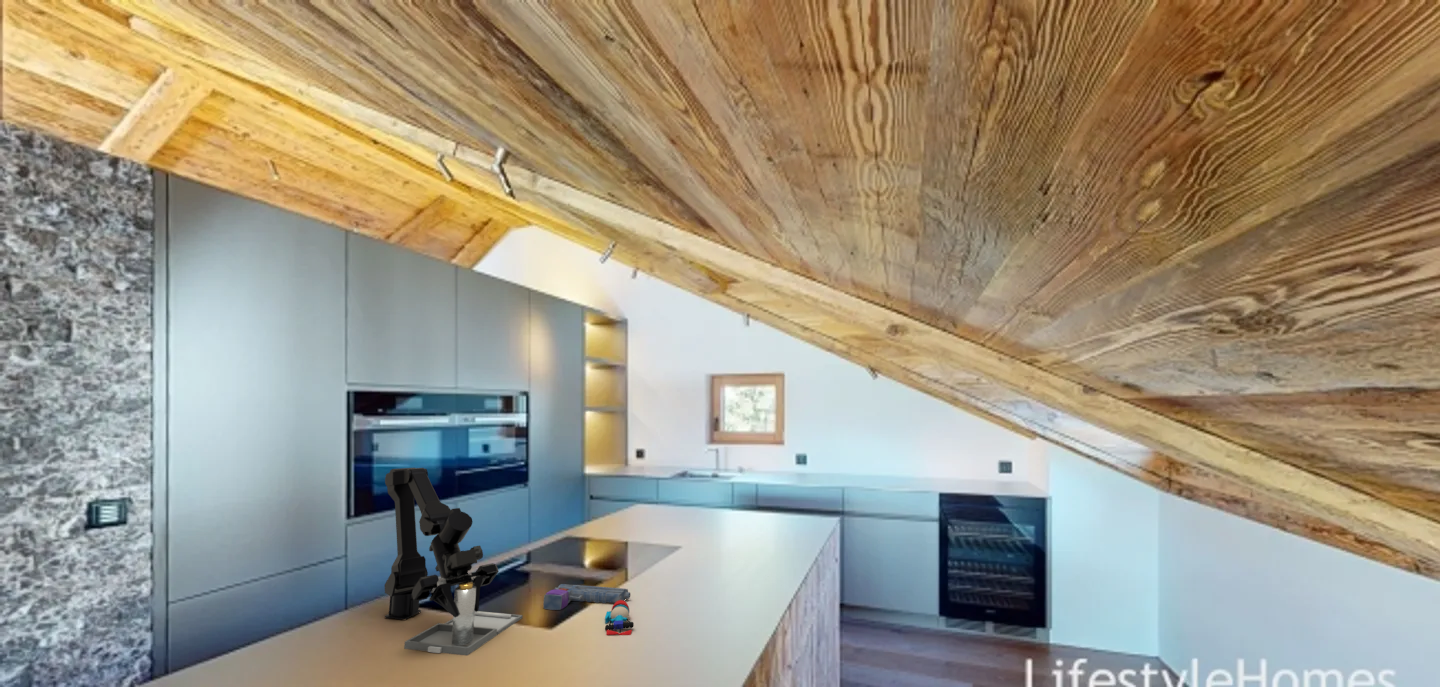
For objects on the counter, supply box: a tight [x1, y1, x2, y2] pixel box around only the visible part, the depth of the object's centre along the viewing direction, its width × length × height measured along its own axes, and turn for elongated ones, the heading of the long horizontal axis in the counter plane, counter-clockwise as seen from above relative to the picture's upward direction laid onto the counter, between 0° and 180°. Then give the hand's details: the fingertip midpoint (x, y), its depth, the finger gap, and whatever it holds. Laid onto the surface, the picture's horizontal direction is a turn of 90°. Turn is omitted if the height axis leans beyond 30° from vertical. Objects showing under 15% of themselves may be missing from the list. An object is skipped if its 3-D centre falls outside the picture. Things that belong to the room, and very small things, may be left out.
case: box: [403, 622, 498, 656], centre depth 141 cm, size 16×13×2 cm
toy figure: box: [604, 600, 635, 636], centre depth 157 cm, size 8×5×15 cm
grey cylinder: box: [451, 582, 476, 646], centre depth 139 cm, size 5×5×13 cm
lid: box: [443, 610, 523, 636], centre depth 153 cm, size 16×13×2 cm
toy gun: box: [542, 583, 631, 611], centre depth 173 cm, size 4×23×15 cm
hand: (466, 613), depth 138 cm, fingers closed on grey cylinder, 5 cm apart
